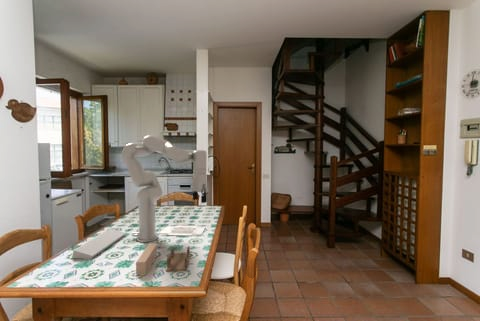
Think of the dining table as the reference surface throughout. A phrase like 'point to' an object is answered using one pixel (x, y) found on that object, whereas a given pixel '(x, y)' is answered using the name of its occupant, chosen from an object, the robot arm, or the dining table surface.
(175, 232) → the tray
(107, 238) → the decorative molding
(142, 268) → the clay strip
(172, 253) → the rack
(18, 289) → the dining table surface
